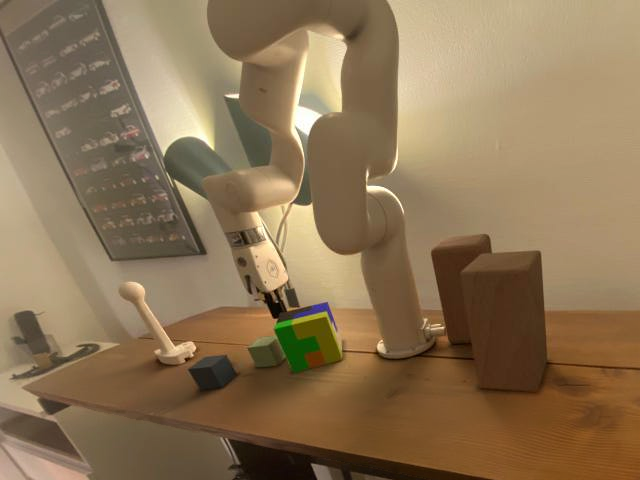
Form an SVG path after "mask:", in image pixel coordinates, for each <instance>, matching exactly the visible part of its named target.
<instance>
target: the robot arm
mask: <svg viewBox="0 0 640 480" xmlns="http://www.w3.org/2000/svg"><path fill="white" fill-rule="evenodd" d="M206 19H207V25H208V29H209V32H210V35H211V37H212V40H213V41H214V42H215V45H216V46H217V47H218V49H219V50H220V52H222V53H223V54H224V55H225V56H227V57H228V58H230V59H231V60H234V61H236V62H240V63H241V71H240V73H241V74H240V82H239V91H238V105H239V107H240V109H241V111H242V112H243V113H244V114H245V116H247V118H249V119H251V121H253V122H254V123H257V124H258V125H259V126H261V127H263V128H265V129H266V130H267V131H268V133H269V135H270V138H271V153H270V158H269V163H268V165H261V166H252V167H246V168H245V167H244V168H238V169H233V170H229V171H227V172H225V173H218V174H212V175H208V176H205V177H203V178H202V180H201V186H202V189H203V191H204V193H205V196H206V198H207V200H208V201H209V205H210V206H211V208H212V212H213V213H214V215H215V218H216V219H217V222H218V224H219V226H220V229H221V230H222V231H221V232H222V233H223V234H224V237H225V239H226V241H227V243H228V246H229V248H230V252H231V255H232V259H233V262H234V266H235V268H236V271H237V273H238V276H239V278H240V281H241V283H242V285H243V287H244V289H245V291H246V292H247V293H248V294H249V295H252V297H253V300H254V301H255V302H259V301H262V302H263V303H264V305H266V306H267V308H268V311H269V313H270V316H271V317H272V319H273V320H278V317H279V315H280V313H282V312H286V311H288V308H287V307H286V304H285V302H284V294H283V292H282V291H283V288H284V287H285V284H286V283H287V282H288V280H289V275H288V273H287V270H286V267H285V266H284V263H283V261H282V259H281V257H280V255H279V253H278V251H277V249H276V248H275V245H274V244H273V243H272V241H271V240H270V239H269V237H268V235H267V233H266V230H265V227H264V225H263V223H262V219H261V218H260V215H259V213H258V212H262V211H265V210H269V209H272V208H277V207H281V206H286V205H289V204H291V203H293V201H295V199H297V197H298V195H299V192H300V189H301V186H302V182H303V178H304V173H305V167H306V162H305V161H306V160H307V169H308V170H307V171H308V178H309V188H310V196H311V206H312V214H313V221H314V225H315V228H316V231H317V234H318V236H319V238H320V240H321V241H322V243H323V244H324V245H325V246H326V247H327V248H328V249H329V250H330V251H332V252H333V253H334V254H337V255H341V256H353V255H357V254H359V263H360V269H361V273H362V277H363V280H364V284H365V287H366V291H367V294H368V297H369V300H370V301H369V302H370V304H371V308H372V311H373V314H374V317H375V321H376V324H377V328H378V330H379V334H380V337H381V340H379V342H378V343H377V345H376V349H377V352H378V355H380V356H381V357H383V358H385V359H391V360H397V359H398V360H399V359H406V358H410V357H413V356H417V355H419V354H422V353H424V352H425V351H427V350H429V349H430V348H431V347H432V346H433V345H434V344H435V342H436V337H439V338H440V337H446V336H447V331H446V326H443V324H442V323H435V324H431V323H429V319H428V318H424V314H423V311H422V306H421V302H420V297H419V293H418V289H417V285H416V281H415V277H414V272H413V267H412V262H411V257H410V254H409V253H410V251H409V248H408V247H409V246H408V240H407V229H406V227H407V226H406V216H405V212H404V208H403V206H402V204H401V202H400V200H399V199H398V197H397V196H396V195H395V194H394V193H393V192H392V191H390V190H389V189H387V188H385V187H382V186H377V185H368V182H371V181H376V180H380V179H383V178H385V177H388V176H389V175H391V173H393V171H395V169H396V166H397V164H398V163H397V162H398V151H399V149H398V148H399V147H398V146H399V145H398V144H399V143H398V140H399V139H398V138H399V137H398V136H399V92H398V90H399V84H398V83H399V65H400V64H399V62H400V37H399V29H398V25H397V24H398V23H397V19H396V17H395V14H394V12H393V9H392V7H391V4H390V3H389V2H388V0H207V6H206ZM309 32H312V33H315V34H318V35H322V36H324V37H329V38H332V39H335V40H338V41H341V42H342V43H344V44H345V47H346V51H345V53H344V56H343V59H342V64H341V67H340V68H341V69H340V79H339V80H340V92H341V111H332V112H328V113H325V114H323V115H320V116H319V117H318V118H317V119H316V120H315V121H314V122H313V124H312V125H311V127H310V130H309V132H308V136H307V140H306V141H307V142H306V160H305V154H304V149H303V144H302V141H301V138H300V135H299V133H298V131H297V129H296V119H297V114H298V108H299V101H300V96H301V91H302V87H303V80H304V77H305V72H306V66H307V60H308V56H309V54H308V53H309V50H310V49H309V48H310V37H309Z"/></svg>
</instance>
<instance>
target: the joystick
mask: <svg viewBox="0 0 640 480" xmlns="http://www.w3.org/2000/svg"><path fill="white" fill-rule="evenodd" d="M118 294H119V296H120V297H121V298H122V299H123V300H125V301H128V302H130V303H132V304H133V306H134V307H135V309H136V311H137V312H138V314H139V316H140V317H141V320H142V321H143V322H144V324H145V326H146V327H147V329H148V331H149V333H150V335H151V336H152V338H153V339H154V341H155V342H156V345H157V347H158V349H155V350H154V351H153V353H154V354H155V356H156V357H157V359H158V361H159V362H160V363H162V364H165V365H172V366H173V365H182V364H184V363H186V360H185V359H188V358H193V357H194V356H195V355H194V354H193V353H195V352H196V350H197V347H196V345H195V343H194V342H193V341H190V340H189V341H186V342H185V341H184V342H182V343H180V344H178V345H174V344H173V341H172V340H171V339H170V338H169V335H168V334H167V333H166V332H165V330H164V328H163V327H162V325H161V324H160V323H159V321H158V319H157V318H156V316H155V315H154V313H153V312H152V310H151V309H150V307H149V306H148V304H147V303H146V301H145V297H146V289H145V287H144V286H143V285H142V284H140V283H138V282H135V281H126V282H123V283H121V284H120V285H119V287H118Z"/></svg>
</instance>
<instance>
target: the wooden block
mask: <svg viewBox="0 0 640 480" xmlns="http://www.w3.org/2000/svg"><path fill="white" fill-rule="evenodd" d="M543 277H544V276H543V261H542V252H541V251H540V250H538V249H537V250H535V249H534V250H522V251H521V250H519V251H504V252H492V253H485V254H481V255H480V256H478V257H477V258H476V259H475V260H474V261H473V262H472V263H470V264H469V265H468V266H467V267H466V268H465V269H464V270H462V271H461V272H460V279H461V284H462V290H463V296H464V302H465V308H466V314H467V320H468V325H469V331H470V337H471V343H470V344H471V348H472V355H473V361H474V367H475V372H476V378H477V383H478V387H479V388H480V389H487V390H488V389H489V390H502V391H517V392H530V393H535V392H538V391H539V387H540V384H541V381H542V378H543V376H544V372H545V369H546V367H547V363H548V360H549V359H548V346H547V344H548V343H547V329H546V328H547V326H546V312H545V311H546V310H545V309H546V308H545V296H544V294H545V293H544V279H543Z"/></svg>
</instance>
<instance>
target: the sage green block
mask: <svg viewBox="0 0 640 480" xmlns="http://www.w3.org/2000/svg"><path fill="white" fill-rule="evenodd" d="M246 349H247V351H248V353H249V355H250V357H251V358H252V361H253V363H254V365H255V367H256V368H265V367H276V366H279V365H280V364H281V363H282V362H283V361H284V360H285V359H287V358H286V356H285V353H284V351H283V349H282V347H281V345H280V342H279V340H278V338H277V336H276V335H268V336H260V337H258V338H257V339H256V340H255V341H253V342H252V343H251V344H249V345H248V346H247V347H246Z"/></svg>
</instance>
